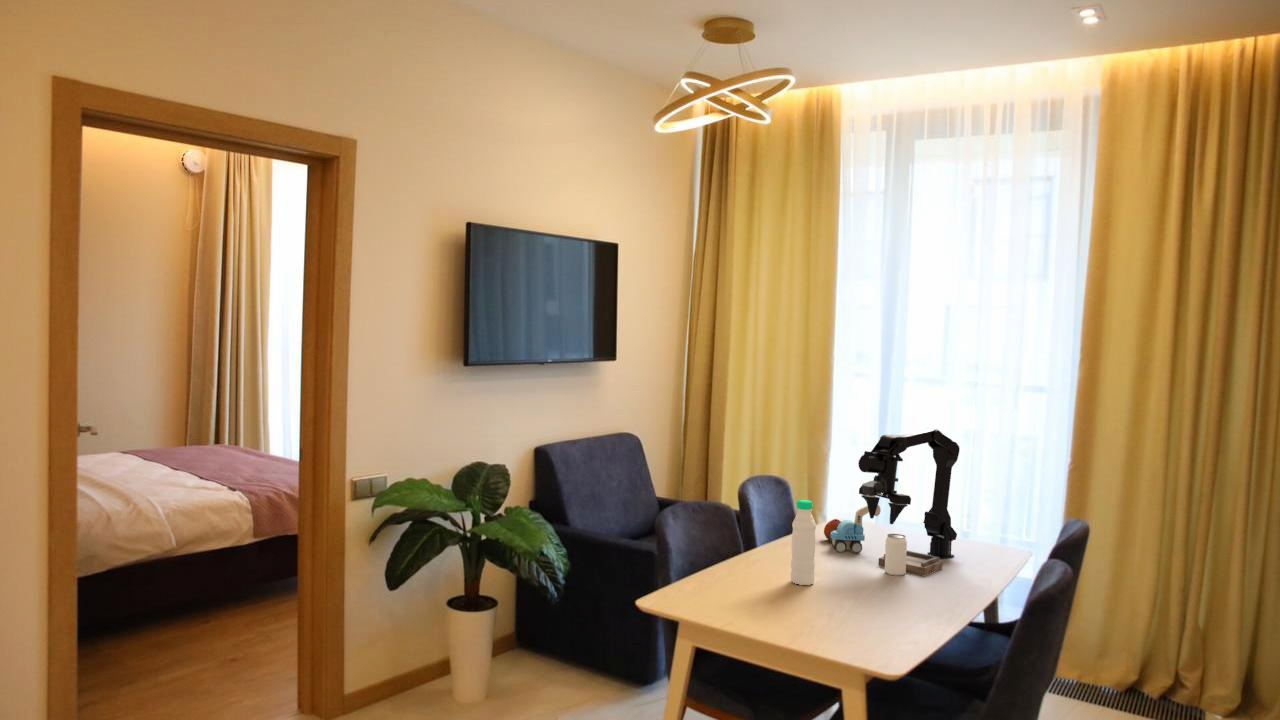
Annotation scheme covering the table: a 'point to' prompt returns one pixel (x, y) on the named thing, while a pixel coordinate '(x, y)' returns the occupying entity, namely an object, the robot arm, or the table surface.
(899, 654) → the table surface
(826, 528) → the fruit
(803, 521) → the water bottle
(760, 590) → the table surface
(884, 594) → the table surface
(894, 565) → the can
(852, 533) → the toy excavator
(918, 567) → the dock
